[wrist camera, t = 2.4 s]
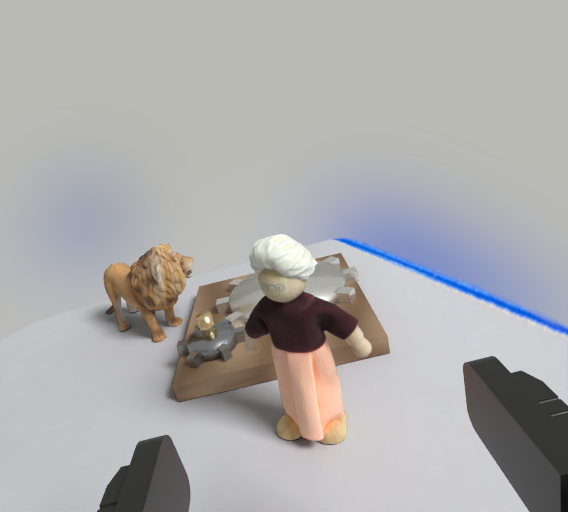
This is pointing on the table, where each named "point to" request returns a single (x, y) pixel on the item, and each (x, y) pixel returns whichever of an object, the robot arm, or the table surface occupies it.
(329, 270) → the gear
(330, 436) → the grandmother figurine
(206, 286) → the gear board
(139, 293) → the lion figurine
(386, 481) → the table surface
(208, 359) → the gear
